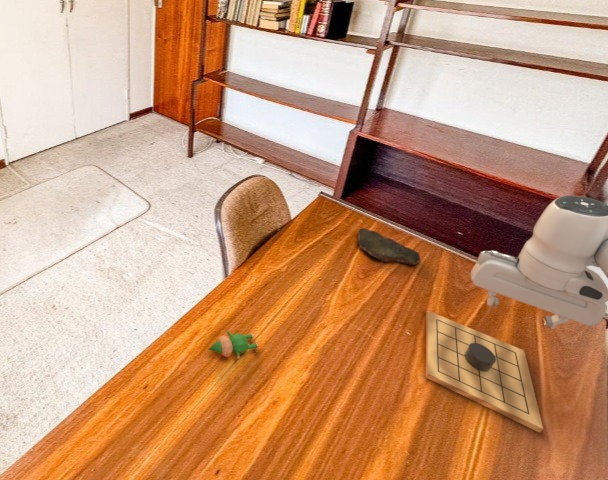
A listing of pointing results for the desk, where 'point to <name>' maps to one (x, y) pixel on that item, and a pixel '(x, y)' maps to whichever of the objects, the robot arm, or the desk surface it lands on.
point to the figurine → (233, 344)
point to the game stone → (480, 357)
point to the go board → (478, 384)
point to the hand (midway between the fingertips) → (518, 314)
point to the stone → (386, 248)
